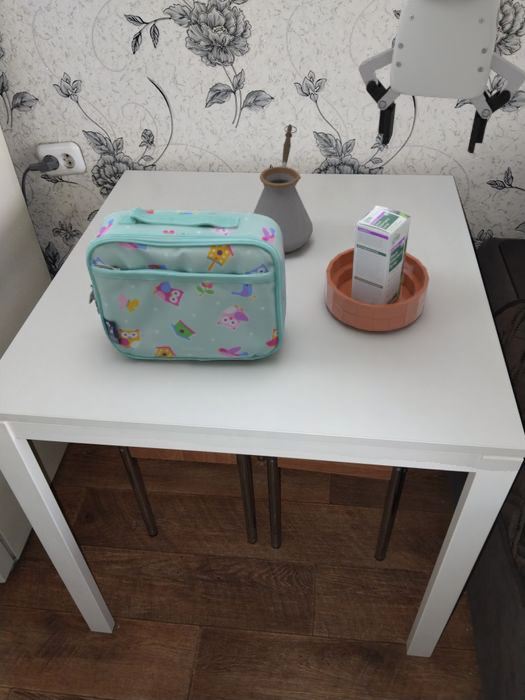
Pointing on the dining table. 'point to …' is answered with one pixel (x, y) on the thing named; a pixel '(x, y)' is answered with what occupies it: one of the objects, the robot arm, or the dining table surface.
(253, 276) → the lunch box
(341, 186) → the dining table surface
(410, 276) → the bowl
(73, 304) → the dining table surface
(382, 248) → the syrup box
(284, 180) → the coffee pot
